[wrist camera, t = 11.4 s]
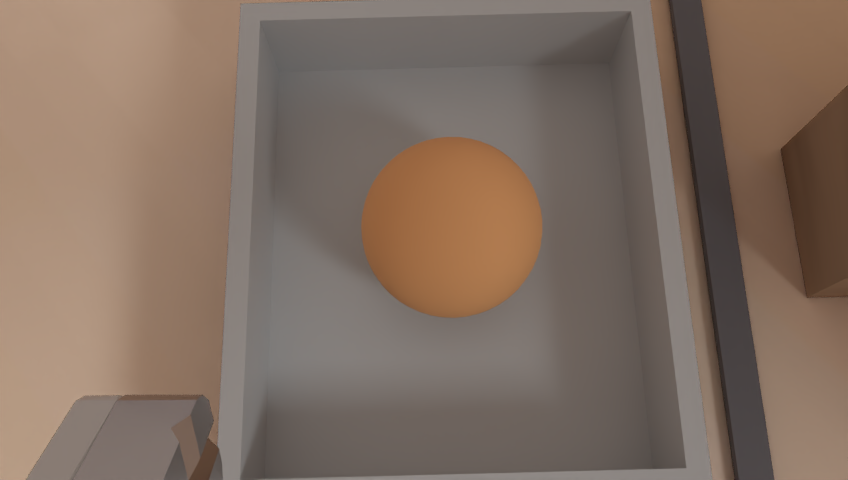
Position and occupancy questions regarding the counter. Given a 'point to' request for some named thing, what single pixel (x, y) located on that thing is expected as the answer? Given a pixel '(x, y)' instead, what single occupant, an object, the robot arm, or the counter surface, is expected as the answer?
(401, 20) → the tray
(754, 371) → the line
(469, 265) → the ball
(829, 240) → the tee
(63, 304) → the counter surface
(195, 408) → the robot arm
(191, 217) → the counter surface
